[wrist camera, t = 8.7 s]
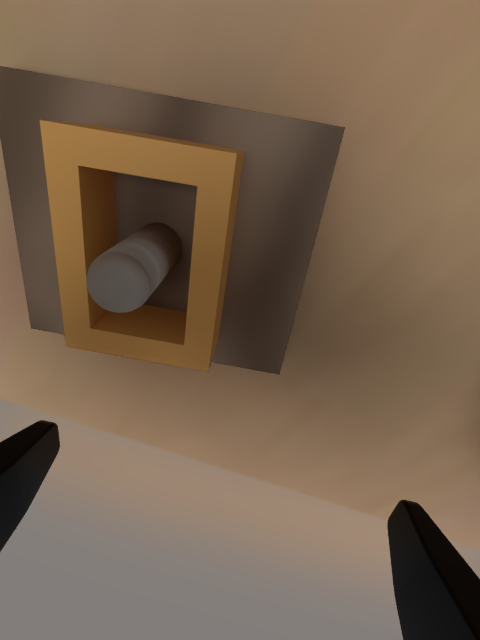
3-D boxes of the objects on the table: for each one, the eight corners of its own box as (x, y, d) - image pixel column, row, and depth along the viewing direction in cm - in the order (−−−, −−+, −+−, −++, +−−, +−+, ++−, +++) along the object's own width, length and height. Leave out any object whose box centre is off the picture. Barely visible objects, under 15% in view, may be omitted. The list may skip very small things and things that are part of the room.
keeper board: (338, 128, 14) (385, 121, 8) (278, 358, 20) (279, 458, 14) (14, 70, 15) (-183, 20, 8) (47, 315, 20) (-55, 394, 14)
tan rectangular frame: (244, 150, 14) (236, 153, 11) (218, 337, 18) (208, 371, 15) (84, 123, 14) (39, 120, 11) (96, 316, 18) (65, 346, 16)
